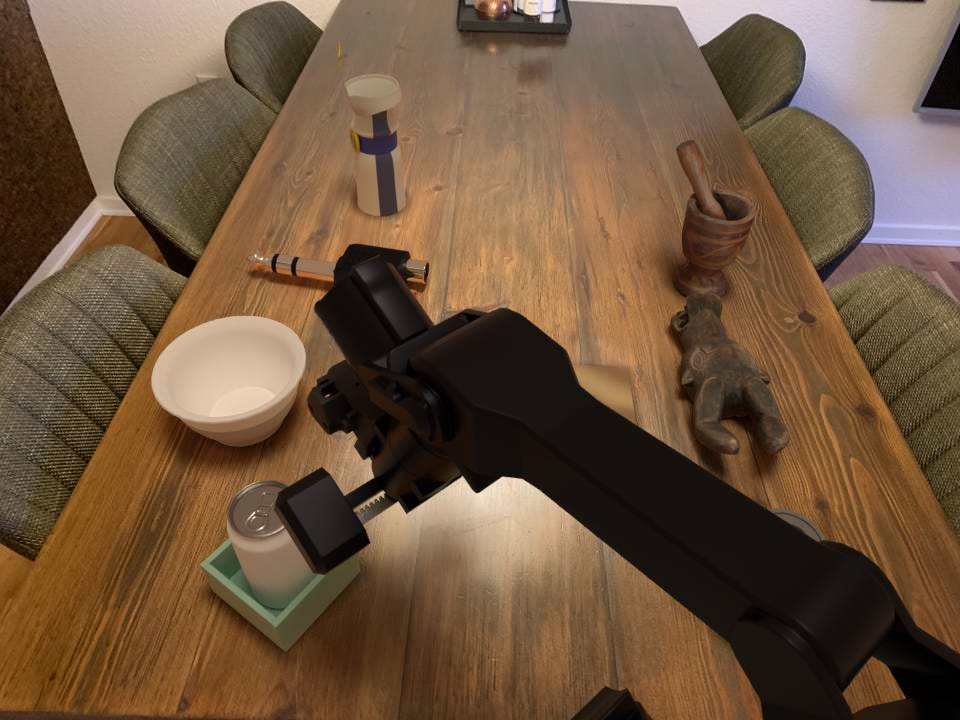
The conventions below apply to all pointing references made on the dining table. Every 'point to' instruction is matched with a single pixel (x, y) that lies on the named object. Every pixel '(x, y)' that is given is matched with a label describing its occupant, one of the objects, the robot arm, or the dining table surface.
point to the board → (608, 387)
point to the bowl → (231, 378)
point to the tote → (275, 622)
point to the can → (266, 546)
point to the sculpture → (723, 380)
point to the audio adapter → (342, 264)
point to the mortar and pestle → (709, 228)
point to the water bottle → (376, 143)
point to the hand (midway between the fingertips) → (386, 492)
